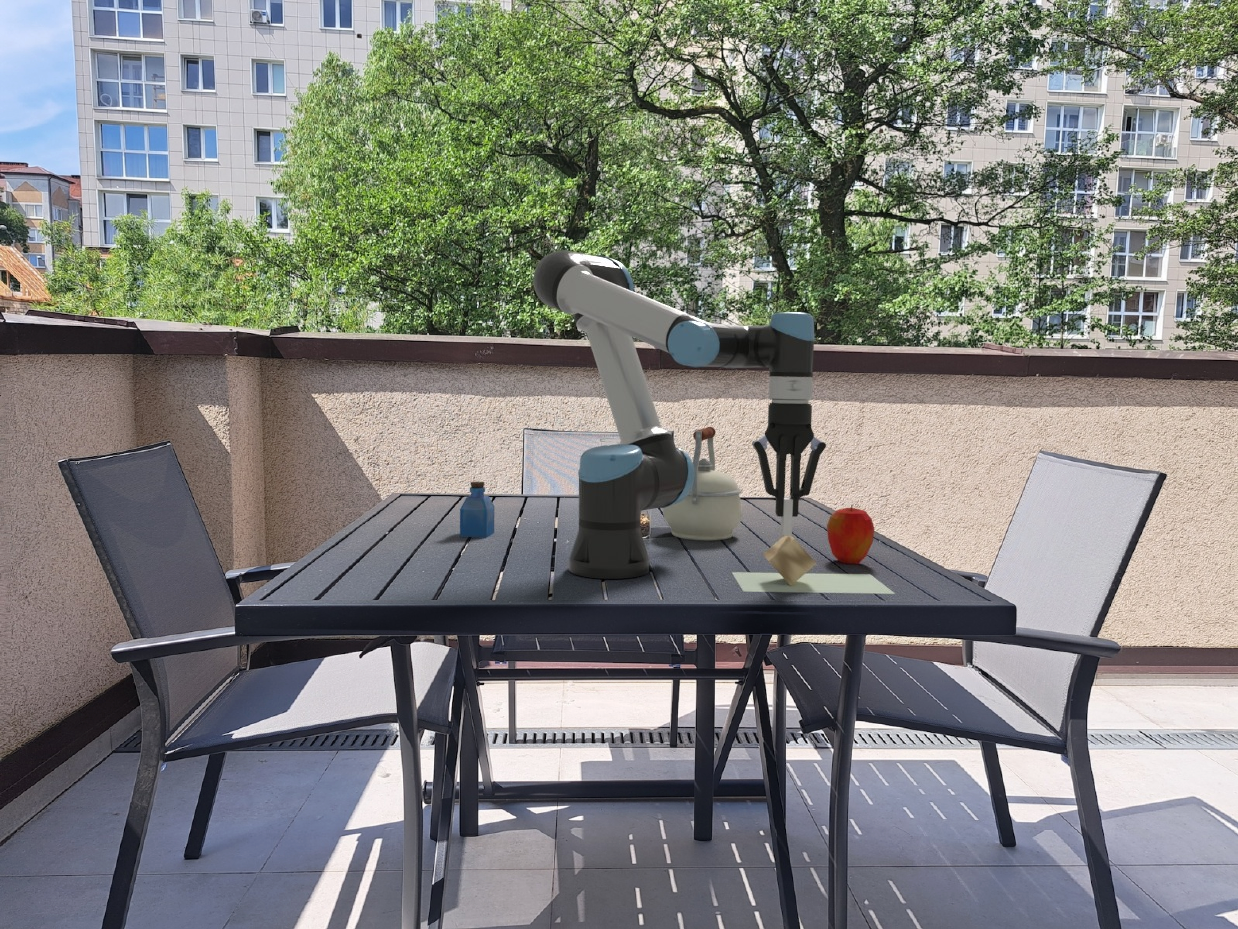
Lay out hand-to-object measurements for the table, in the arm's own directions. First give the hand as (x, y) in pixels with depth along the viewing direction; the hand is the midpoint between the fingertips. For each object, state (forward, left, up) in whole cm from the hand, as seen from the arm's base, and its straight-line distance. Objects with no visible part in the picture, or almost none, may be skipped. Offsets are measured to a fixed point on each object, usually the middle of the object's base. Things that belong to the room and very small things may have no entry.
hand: (786, 534), depth 161 cm
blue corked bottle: (-61, +45, -9) cm, 77 cm away
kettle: (-9, +50, -9) cm, 52 cm away
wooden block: (-1, 0, -6) cm, 7 cm away
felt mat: (+5, 0, -9) cm, 10 cm away
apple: (+17, +19, -9) cm, 27 cm away
